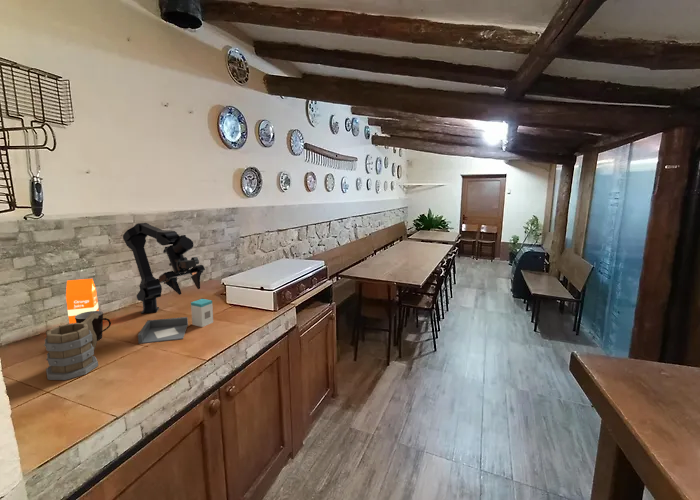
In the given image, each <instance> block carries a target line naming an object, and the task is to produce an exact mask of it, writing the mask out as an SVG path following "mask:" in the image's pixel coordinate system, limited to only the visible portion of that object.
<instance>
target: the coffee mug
mask: <svg viewBox="0 0 700 500" xmlns="http://www.w3.org/2000/svg"><path fill="white" fill-rule="evenodd" d="M91 313H96V314H99V317H98V319H93V321H92V325H93V330H94V332H95V334H96V336H97V342H98V341H101V340H102V339H103V332H105V331H107V330H108V329H109V328H110V327H111V325H112V322H111V320H110V319H109V318H107V317H104V311H101V310H99V311H89V312H84V313H81V314H78V315H76V316H75V319H76V323H81V322H83V321H84V320H85V319H86V318H87V317H88V316H89V315H90V314H91ZM104 320H105V321H108V326H106V327H105V328H104V329H103V327H104V326H103V323H104ZM100 339H101V340H100Z"/></svg>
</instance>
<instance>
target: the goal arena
mask: <svg viewBox="0 0 700 500" xmlns="http://www.w3.org/2000/svg"><path fill="white" fill-rule="evenodd" d="M188 320H189V318H188V316H183V317H171V318H161V319H149V320H147V321H145V324H144V325H143V327H141V330H140V331H139V332H138V334H137V340H138V344H139V345H140V344H148V343H149V344H150V343H151V344H152V343H157V342H160V343H161V342H168V341H177V340H183V339H184V337H185V334H186V332H187V331H186V330H187V328H188V325H189V323H188Z"/></svg>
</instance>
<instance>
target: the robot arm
mask: <svg viewBox="0 0 700 500" xmlns="http://www.w3.org/2000/svg"><path fill="white" fill-rule="evenodd" d="M148 236H149V237H150V238H153V239H155V240H156V242H157V243H158V244H159V245H161V246H164V248H163V251H162V253H163V254H166V256H167V257H168V260H169V263H168V265H169V267H172V270H169V271H165V272H162V274H160V275H159V277H158V278H156V277H154V274H153V272H152V268H151V265H150V262H149V259H148V256H147V252H146V249H145V246H146V243H147V242H146V241H147V240H146V238H147V237H148ZM122 238H123V241H124V242H125V245H126V247H128V248H129V249H130V250H131V251H132V253H133V254H132V255H133V256H134V259H135V260H134V261H135V263H136V266H137V270H138V273H139V276H140V283H139V291H138V292H137V294H136V299H137V300H138V301H140V302H142V311H141V312H140V313H141V314H151V313H154V314H155V313H158V311H159V309H160V306H158V303H157V299H158V298H161V296H162V292H163V288H162V285H161V284H162V283H163V285H167V286H168V287H170V288H171V289H172V290H173V291H175V293H176V294H177V295H182V291H181V289H180V286H179V283H178V277H181V276H185V275H191V276H190V279H191V280H192V282H193V284H194V285H195V287H196V288H197V290H200V289H201V277H202V273H204V271H205V270H206V269H205V266H204V265H203V264H199V263H200V261H199V258H198V257H197V256H193V257H191V259H188V258H187V257H185V256H184V254H186V253H187V252H189V251H190V250H191V249H193V247H194V241H193V240H192V239H191V238H189V237H187V236H186V234H181V235H180V234H178V232H176V231H175V230H168V229H167V230H165V229H161V228H159V227H156V226H154V225H151V224H149V223H148V222H141V223H139V222H138V223H135V225H134V226H132V227H130V228H128V229H127V230H126V231H124V233H123V235H122Z"/></svg>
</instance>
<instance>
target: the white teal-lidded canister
mask: <svg viewBox="0 0 700 500" xmlns="http://www.w3.org/2000/svg"><path fill="white" fill-rule="evenodd" d="M190 309H191V310H190V311H191V324H192V326H196V327H200V328H204V327H205V326H208V325H210V324H213V323H214V309H213V300H211V299H205V298H200V299H197V300H194V301H190Z"/></svg>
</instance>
